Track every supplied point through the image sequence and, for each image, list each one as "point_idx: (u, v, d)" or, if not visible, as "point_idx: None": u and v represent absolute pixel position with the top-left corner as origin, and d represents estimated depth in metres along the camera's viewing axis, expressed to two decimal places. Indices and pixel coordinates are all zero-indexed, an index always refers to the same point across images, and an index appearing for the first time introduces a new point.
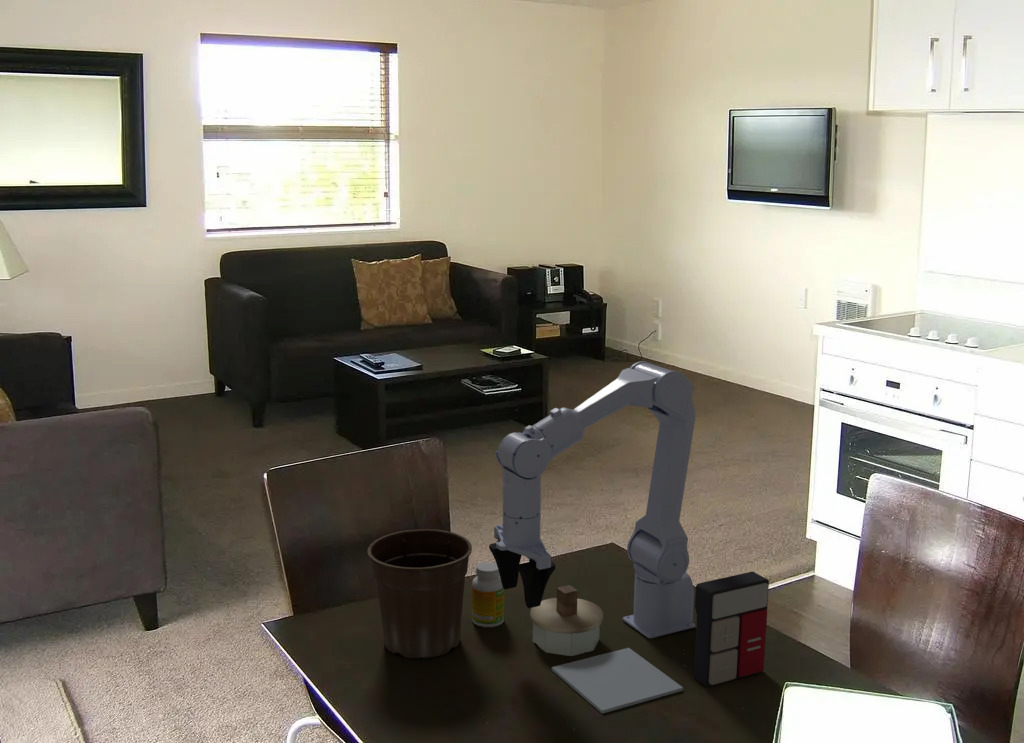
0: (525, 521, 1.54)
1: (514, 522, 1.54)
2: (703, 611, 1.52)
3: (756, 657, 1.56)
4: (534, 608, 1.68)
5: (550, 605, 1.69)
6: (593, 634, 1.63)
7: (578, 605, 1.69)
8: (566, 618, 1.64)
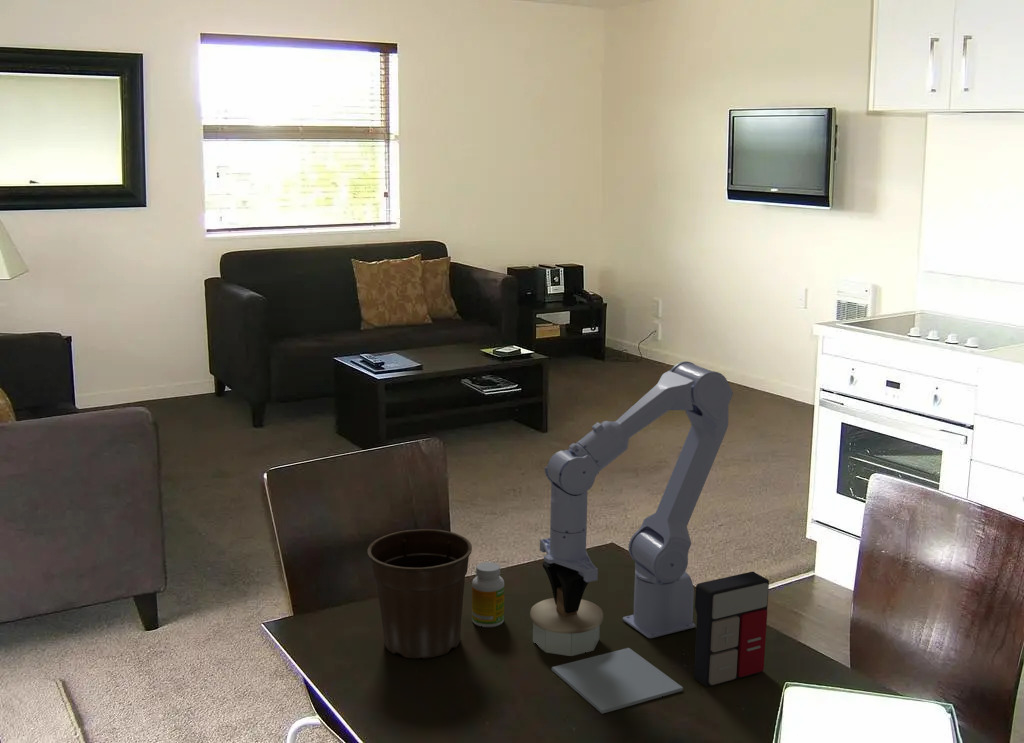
0: (572, 535, 1.61)
1: (562, 536, 1.61)
2: (703, 611, 1.52)
3: (756, 657, 1.56)
4: (534, 608, 1.68)
5: (550, 605, 1.69)
6: (593, 634, 1.63)
7: None
8: (566, 618, 1.64)
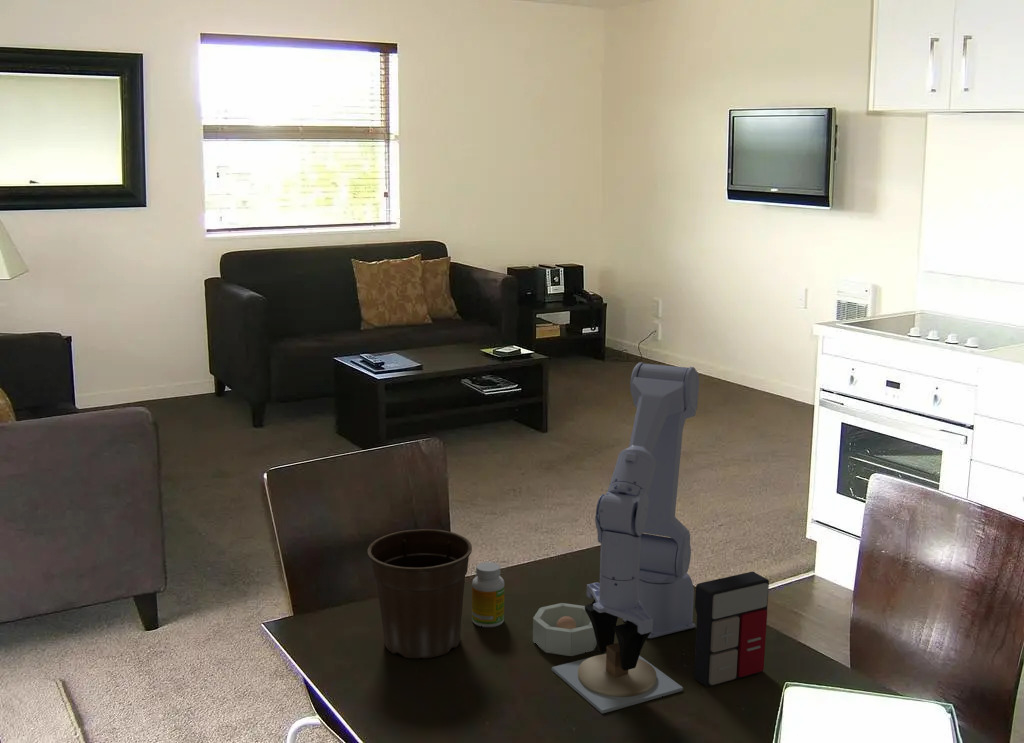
0: (625, 583, 1.49)
1: (613, 584, 1.49)
2: (703, 611, 1.52)
3: (756, 657, 1.56)
4: (581, 667, 1.56)
5: (598, 663, 1.57)
6: (593, 634, 1.63)
7: None
8: (617, 679, 1.52)
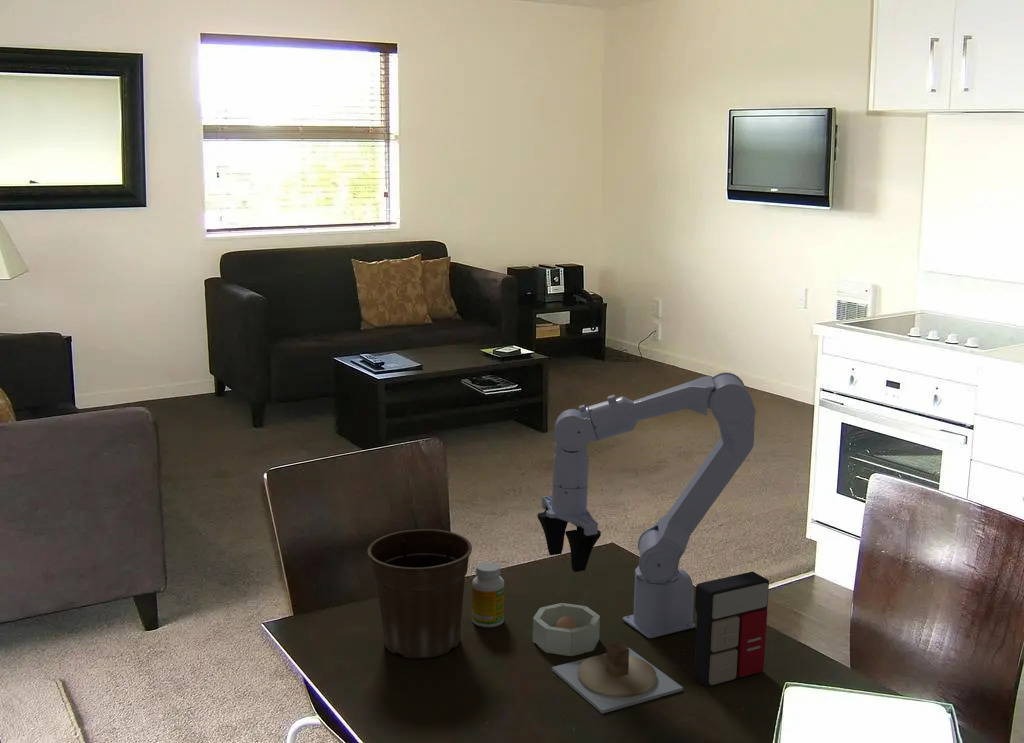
0: (574, 491, 1.67)
1: (564, 492, 1.67)
2: (703, 611, 1.52)
3: (756, 657, 1.56)
4: (581, 667, 1.56)
5: (598, 663, 1.57)
6: (593, 634, 1.63)
7: (628, 663, 1.57)
8: (617, 679, 1.52)
